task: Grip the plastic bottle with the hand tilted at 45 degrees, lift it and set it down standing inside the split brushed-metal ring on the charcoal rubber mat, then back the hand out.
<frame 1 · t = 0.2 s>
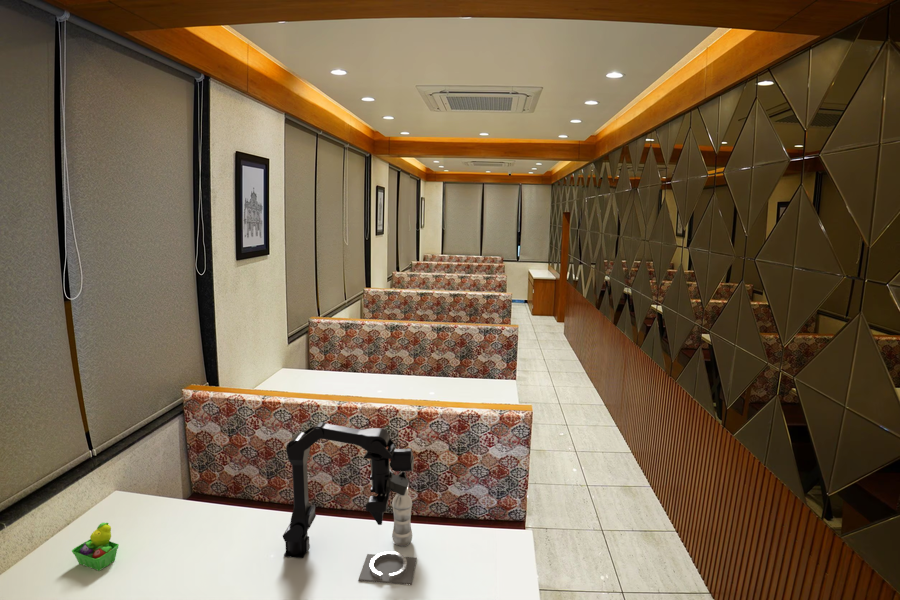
hand: (382, 515, 167), 14 cm above the table, tool pointing down, fingers open, 9 cm apart
ring mat: (388, 569, 164), on the table
fruit basket: (98, 561, 165), on the table
plastic bottle: (402, 543, 177), on the table
split ring: (388, 565, 163), on the ring mat, point 1 cm above the table
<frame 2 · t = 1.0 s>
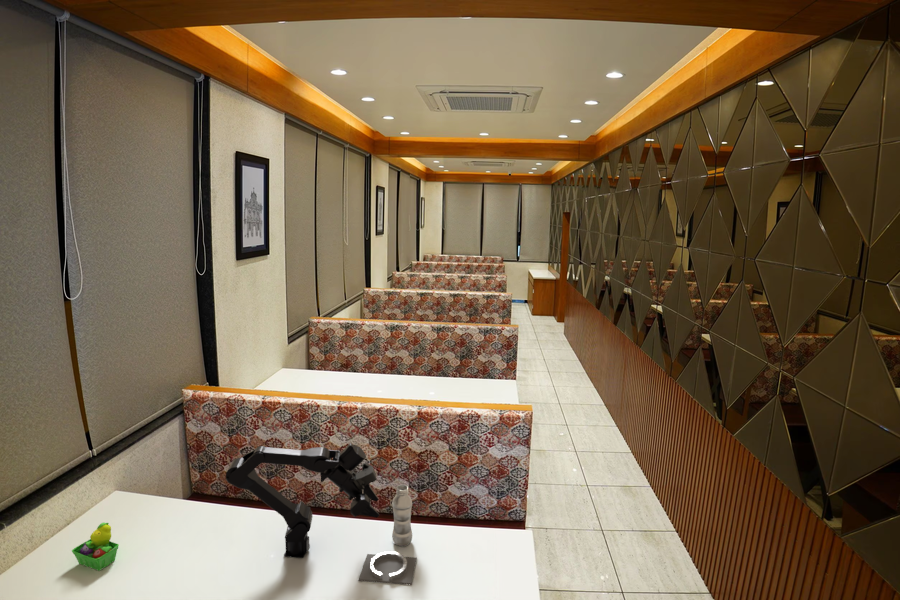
hand: (377, 508, 173), 13 cm above the table, tool tilted 45°, fingers open, 9 cm apart
nothing on the table moved.
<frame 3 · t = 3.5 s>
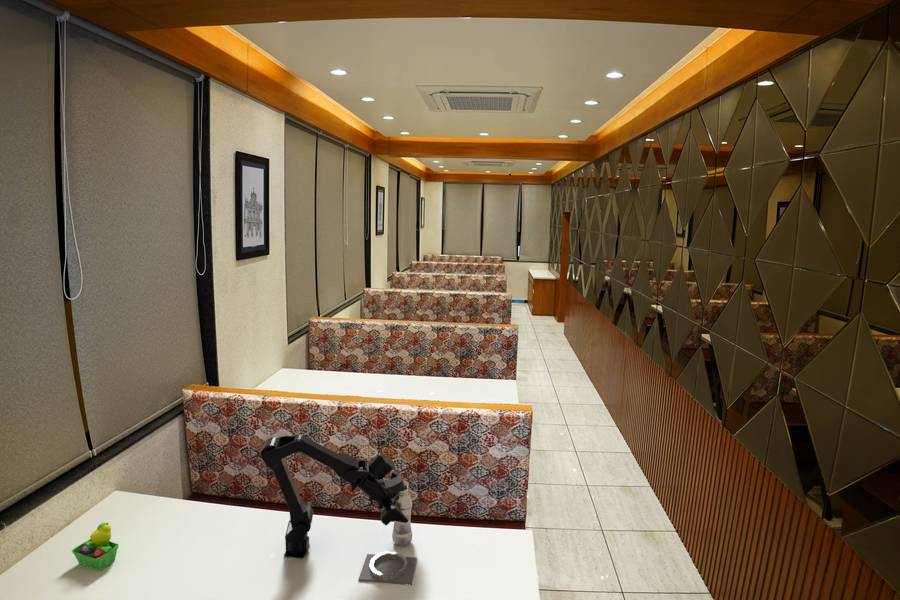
hand: (406, 516, 175), 10 cm above the table, tool tilted 45°, fingers closed on plastic bottle, 6 cm apart
plastic bottle: (402, 543, 177), on the table, touching gripper
everything else where it was.
when the fingers open (11 cm above the table, at t = 6.7 s): plastic bottle stays where it is, resting on ring mat.
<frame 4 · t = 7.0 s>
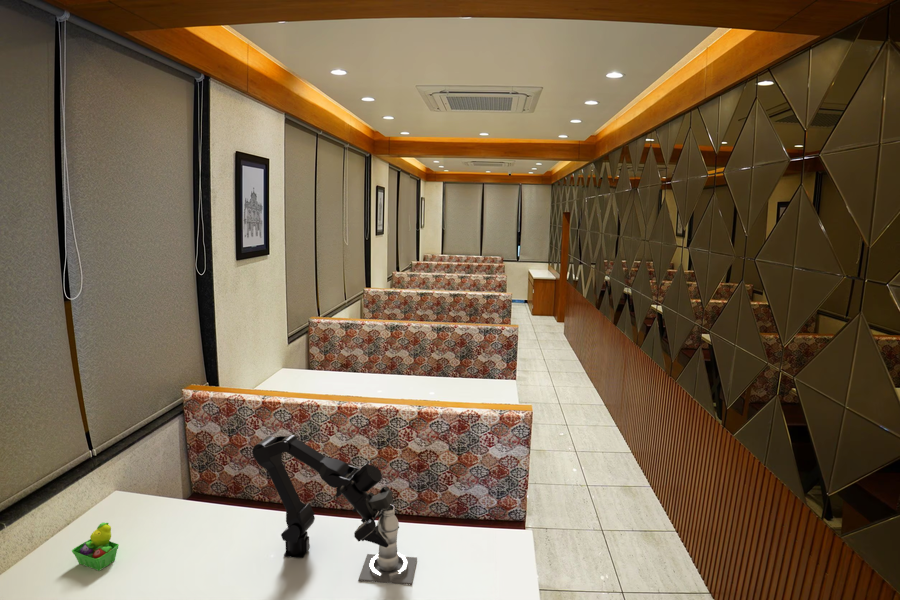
hand: (392, 537, 161), 11 cm above the table, tool tilted 45°, fingers open, 9 cm apart
plastic bottle: (387, 568, 164), resting on ring mat
everything else where it was.
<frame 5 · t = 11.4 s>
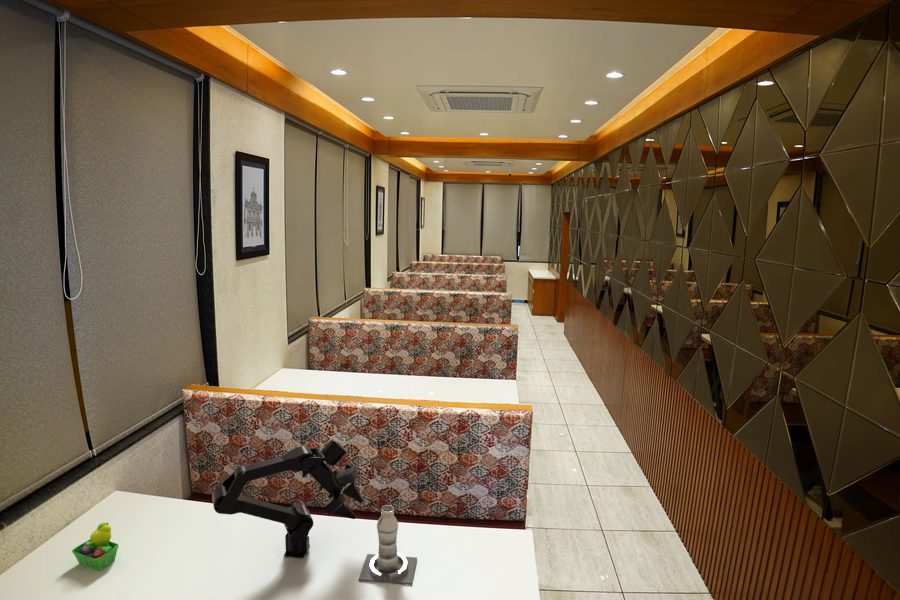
hand: (358, 509, 171), 14 cm above the table, tool tilted 45°, fingers open, 9 cm apart
nothing on the table moved.
at the end: plastic bottle 0.3 cm off-centre on the split ring, point 0.4 cm above the split ring's base; plastic bottle tilted 0°; the gripper is holding nothing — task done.
